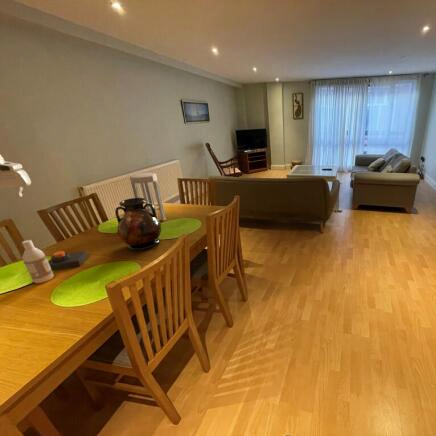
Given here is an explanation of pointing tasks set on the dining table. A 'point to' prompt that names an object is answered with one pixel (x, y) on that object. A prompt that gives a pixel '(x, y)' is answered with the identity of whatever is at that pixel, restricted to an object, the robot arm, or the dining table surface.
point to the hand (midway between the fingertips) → (6, 197)
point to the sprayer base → (68, 260)
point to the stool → (148, 191)
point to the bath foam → (36, 263)
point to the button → (59, 254)
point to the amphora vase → (138, 225)
